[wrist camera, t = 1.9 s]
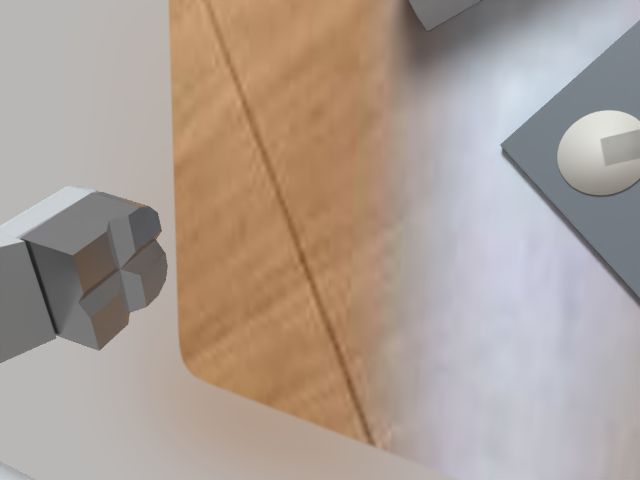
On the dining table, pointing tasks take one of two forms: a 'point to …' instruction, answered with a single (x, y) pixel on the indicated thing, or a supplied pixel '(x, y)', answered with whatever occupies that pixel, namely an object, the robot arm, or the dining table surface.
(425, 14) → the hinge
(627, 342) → the dining table surface
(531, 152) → the board
